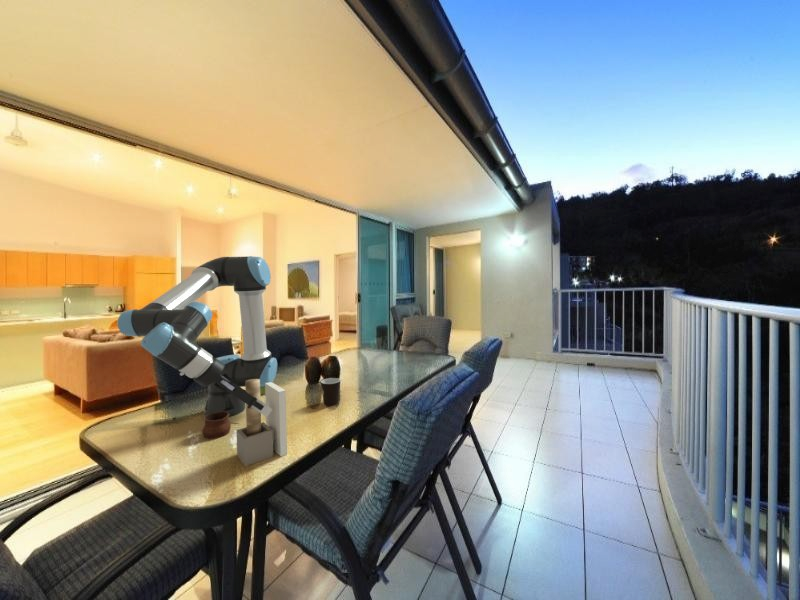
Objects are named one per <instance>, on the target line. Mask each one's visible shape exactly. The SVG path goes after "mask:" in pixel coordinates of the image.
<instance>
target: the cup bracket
mask: <svg viewBox="0 0 800 600" xmlns="http://www.w3.org/2000/svg"><path fill="white" fill-rule="evenodd" d="M286 393H287V392H286V389H284V388H282V387H281V386H280V385H278V384H276V383H274V382H273V383H272V382H269V383H265V395H264V396H265V404H266V405H267V406H269V407H270V408H272V409H273V410H272V411H271V412H270V414H269V415H268V416H267V417H265V422H261V433H258V434H255V435H251V436H248V435H247V426H246V427H243V428H239V429H236V454H237V455H236V456H237V458H239V460H240V461H241V463H242V464H243V466H244V467H247V466H250V465H252V464H253V465H254V464H256V463H259V462H262V461H264V460H267V459H270V458H271V457H274V451H275V452H276V454H277V455H278V456H279V457H281V458H282V457H284V456H286V455H288V437H287V436H288V435H287V434H288V432H287V431H288V430H287V429H288V427H287V425H288V424H287V396H286V395H287V394H286Z"/></svg>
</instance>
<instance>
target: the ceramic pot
mask: <svg viewBox="0 0 800 600" xmlns="http://www.w3.org/2000/svg"><path fill="white" fill-rule="evenodd" d="M229 417H230V416H229V413H228V412H225V411H222V412H218V413H212V414H208V415H206V416H204V417H203V420H204V426H203V428H202V432H201V433H202V435H203V437H204V438H205V439H208V440H209V439H210V440H211V439H213V440H214V439H219V438H222V437H225V436H227V435H228V434H230V431H231V426H232V425H231V424H234V425H240V423H239V422H230V420H229Z"/></svg>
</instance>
